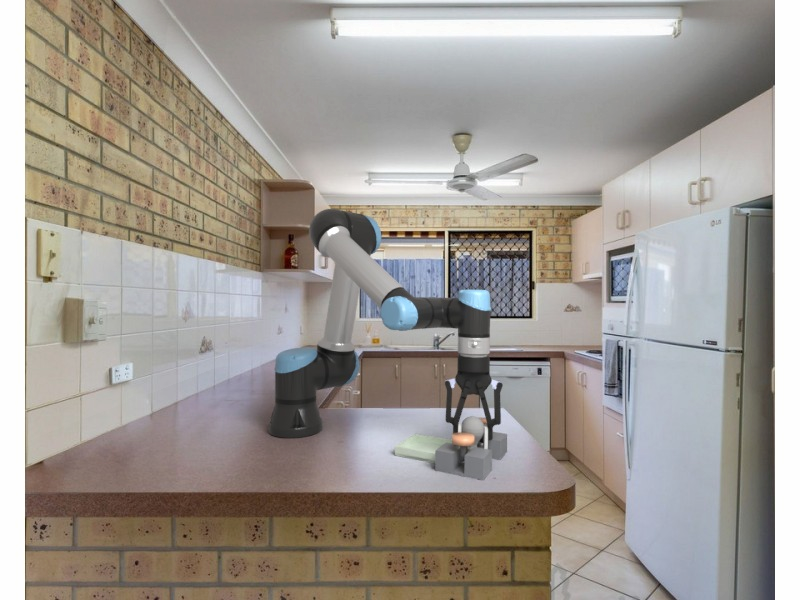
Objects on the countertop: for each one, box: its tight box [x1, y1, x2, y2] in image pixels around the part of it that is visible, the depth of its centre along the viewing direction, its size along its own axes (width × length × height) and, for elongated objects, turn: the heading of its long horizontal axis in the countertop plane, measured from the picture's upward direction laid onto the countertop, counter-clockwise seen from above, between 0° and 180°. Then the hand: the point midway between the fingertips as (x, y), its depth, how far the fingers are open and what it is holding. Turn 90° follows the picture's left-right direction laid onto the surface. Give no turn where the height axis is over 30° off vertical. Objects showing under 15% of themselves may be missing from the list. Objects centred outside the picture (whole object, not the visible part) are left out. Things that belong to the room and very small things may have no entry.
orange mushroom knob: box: [478, 417, 487, 444], centre depth 110 cm, size 5×5×6 cm
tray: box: [394, 433, 452, 464], centre depth 110 cm, size 12×12×2 cm
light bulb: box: [461, 415, 484, 453], centre depth 104 cm, size 6×6×10 cm
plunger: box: [451, 432, 475, 463], centre depth 98 cm, size 5×5×6 cm
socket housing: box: [434, 431, 508, 481], centre depth 104 cm, size 11×20×4 cm, turn 152°
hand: (472, 452), depth 104 cm, fingers closed on light bulb, 5 cm apart
